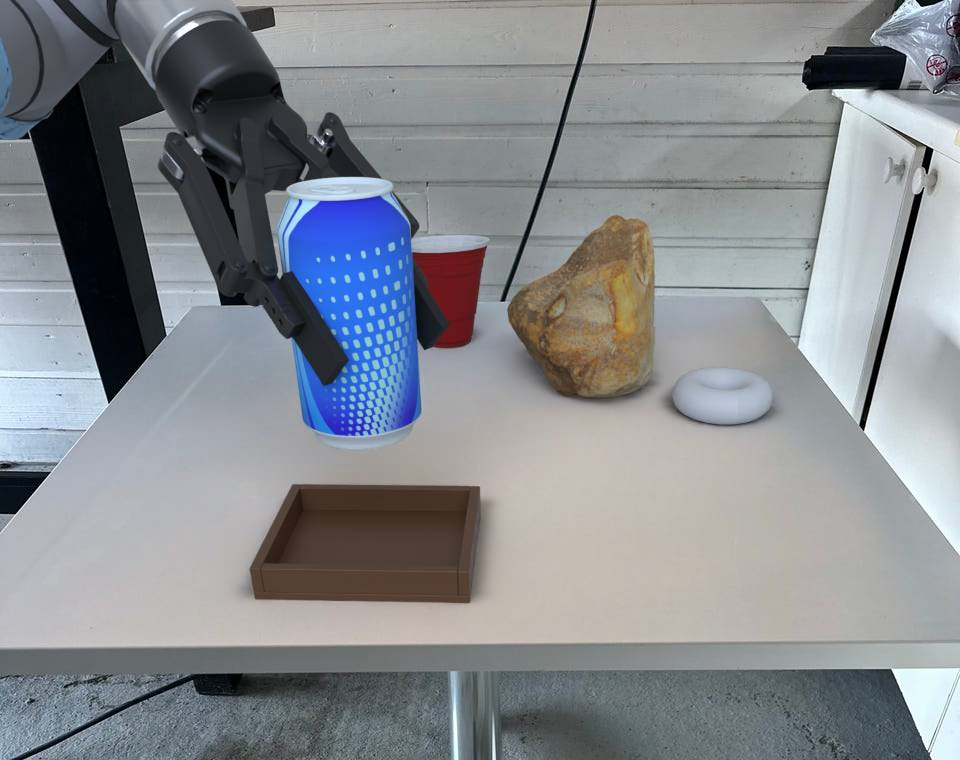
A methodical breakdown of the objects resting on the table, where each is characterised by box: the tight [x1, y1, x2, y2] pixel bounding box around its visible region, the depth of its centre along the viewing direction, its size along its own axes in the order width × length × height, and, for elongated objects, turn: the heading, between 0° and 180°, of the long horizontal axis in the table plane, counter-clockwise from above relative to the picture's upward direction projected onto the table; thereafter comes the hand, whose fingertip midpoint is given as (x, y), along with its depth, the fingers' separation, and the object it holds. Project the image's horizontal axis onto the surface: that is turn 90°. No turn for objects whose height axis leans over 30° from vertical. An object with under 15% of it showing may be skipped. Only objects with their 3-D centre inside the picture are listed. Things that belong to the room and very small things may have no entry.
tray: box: [249, 483, 482, 604], centre depth 71 cm, size 16×14×3 cm
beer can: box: [276, 177, 422, 451], centre depth 62 cm, size 8×8×16 cm
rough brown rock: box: [506, 214, 656, 399], centre depth 101 cm, size 23×17×15 cm
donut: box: [671, 366, 774, 426], centre depth 93 cm, size 10×4×10 cm
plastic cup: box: [411, 234, 491, 349], centre depth 111 cm, size 11×11×12 cm
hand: (388, 354), depth 61 cm, fingers closed on beer can, 8 cm apart
